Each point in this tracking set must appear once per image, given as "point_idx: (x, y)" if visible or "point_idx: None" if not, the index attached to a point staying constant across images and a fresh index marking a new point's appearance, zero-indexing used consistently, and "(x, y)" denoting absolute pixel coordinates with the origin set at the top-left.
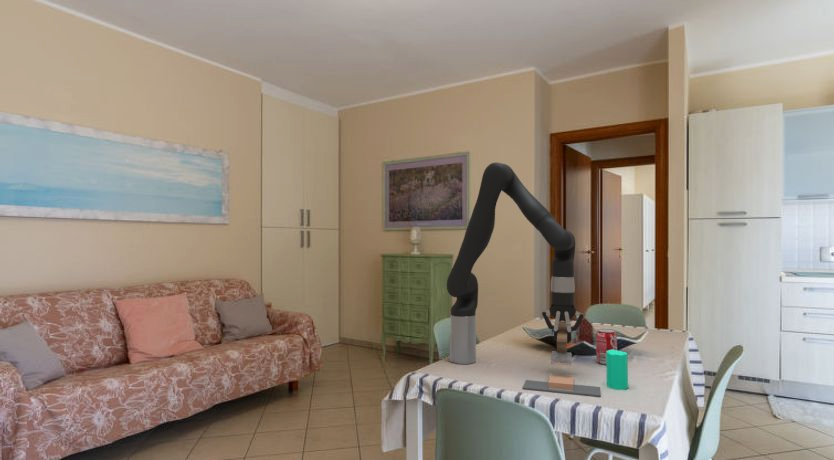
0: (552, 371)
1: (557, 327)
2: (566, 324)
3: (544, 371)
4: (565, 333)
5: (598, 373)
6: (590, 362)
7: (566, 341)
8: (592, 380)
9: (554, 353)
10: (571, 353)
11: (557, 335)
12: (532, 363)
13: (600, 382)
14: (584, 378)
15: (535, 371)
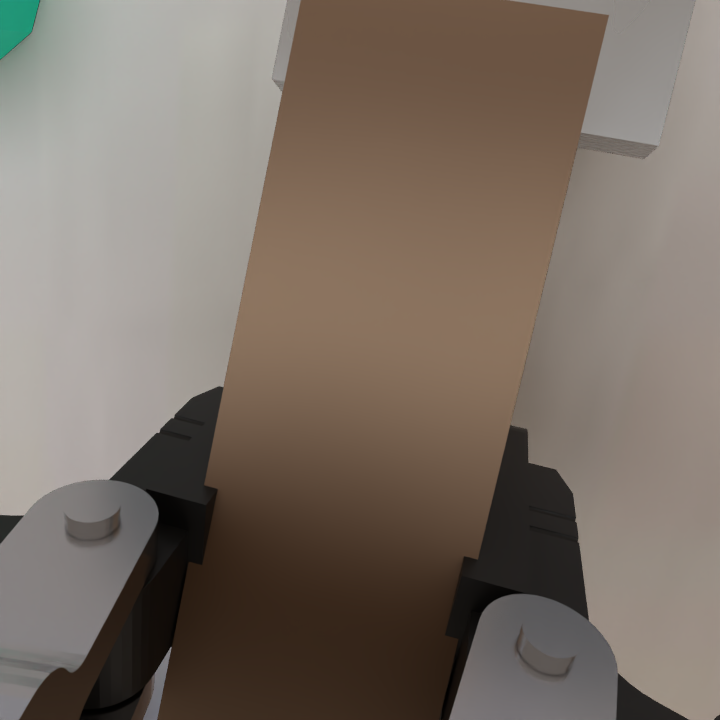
0: (523, 419)
1: (474, 693)
2: (40, 678)
3: (610, 414)
4: (253, 477)
5: (115, 383)
6: (166, 663)
7: (302, 15)
8: (170, 146)
9: (623, 52)
10: (279, 54)
11: (516, 384)
12: (669, 659)
13: (100, 85)
14: (240, 208)
15: (715, 408)
